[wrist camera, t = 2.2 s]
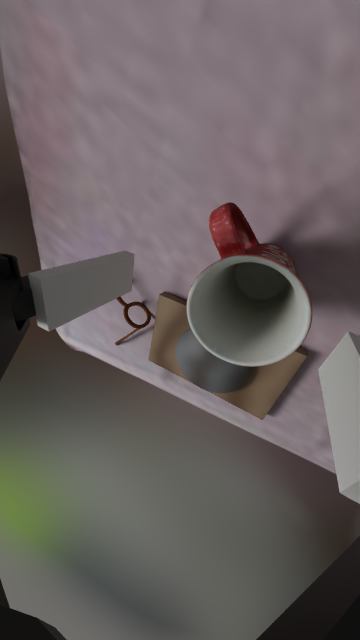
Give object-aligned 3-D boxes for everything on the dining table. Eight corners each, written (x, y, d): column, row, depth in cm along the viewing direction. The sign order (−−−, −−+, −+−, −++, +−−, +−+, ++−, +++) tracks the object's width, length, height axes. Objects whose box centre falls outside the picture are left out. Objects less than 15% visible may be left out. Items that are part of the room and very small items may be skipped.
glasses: (156, 318, 38) (140, 330, 34) (118, 344, 45) (101, 357, 41) (111, 256, 37) (88, 262, 33) (80, 294, 44) (59, 302, 40)
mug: (309, 301, 25) (321, 366, 15) (236, 312, 30) (203, 368, 19) (291, 188, 22) (289, 164, 11) (211, 221, 27) (154, 227, 16)
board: (306, 350, 28) (307, 360, 26) (263, 412, 35) (261, 425, 33) (164, 291, 34) (156, 296, 32) (152, 355, 41) (145, 363, 39)
